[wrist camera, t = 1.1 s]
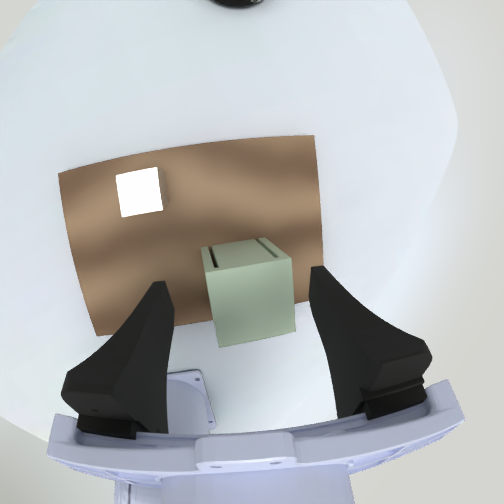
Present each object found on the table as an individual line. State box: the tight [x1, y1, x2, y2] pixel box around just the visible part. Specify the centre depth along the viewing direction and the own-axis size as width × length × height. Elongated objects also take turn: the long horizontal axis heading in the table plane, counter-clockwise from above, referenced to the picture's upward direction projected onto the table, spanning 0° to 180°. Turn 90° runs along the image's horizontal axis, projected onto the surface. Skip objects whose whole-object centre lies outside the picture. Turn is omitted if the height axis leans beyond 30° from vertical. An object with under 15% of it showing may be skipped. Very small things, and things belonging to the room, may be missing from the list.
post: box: [116, 167, 169, 217], centre depth 19 cm, size 3×3×6 cm
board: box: [58, 135, 323, 336], centre depth 24 cm, size 15×22×1 cm
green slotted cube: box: [201, 237, 296, 348], centre depth 21 cm, size 5×5×7 cm
